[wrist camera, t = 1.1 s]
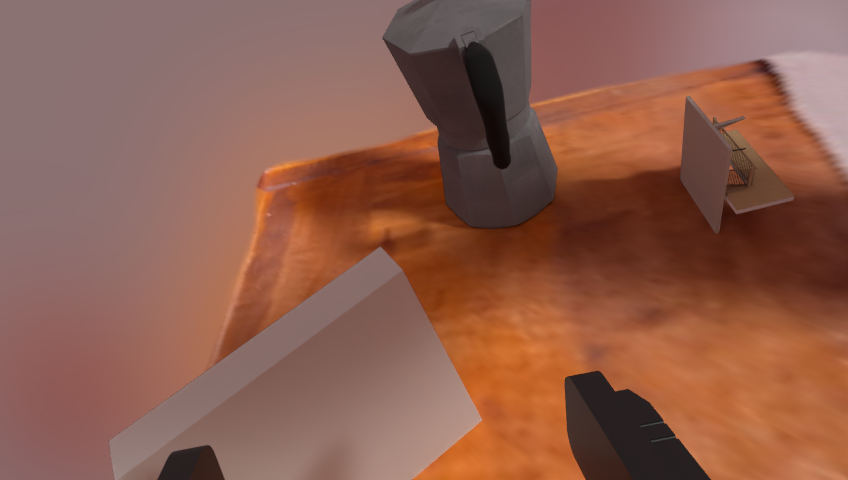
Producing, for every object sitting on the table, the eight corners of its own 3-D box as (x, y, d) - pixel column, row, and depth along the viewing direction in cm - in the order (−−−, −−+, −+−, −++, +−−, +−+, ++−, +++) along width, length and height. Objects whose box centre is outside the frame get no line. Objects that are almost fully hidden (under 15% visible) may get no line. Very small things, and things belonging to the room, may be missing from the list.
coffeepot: (434, 160, 47) (359, -46, 34) (535, 126, 46) (495, -99, 33) (466, 289, 36) (373, 56, 23) (599, 249, 35) (576, -18, 22)
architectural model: (728, 169, 37) (742, 78, 31) (781, 238, 32) (809, 144, 27) (678, 182, 37) (684, 95, 32) (723, 252, 32) (739, 162, 27)
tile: (461, 395, 31) (377, 243, 21) (482, 420, 29) (402, 269, 20) (292, 534, 28) (108, 436, 18) (306, 568, 27) (114, 481, 17)
